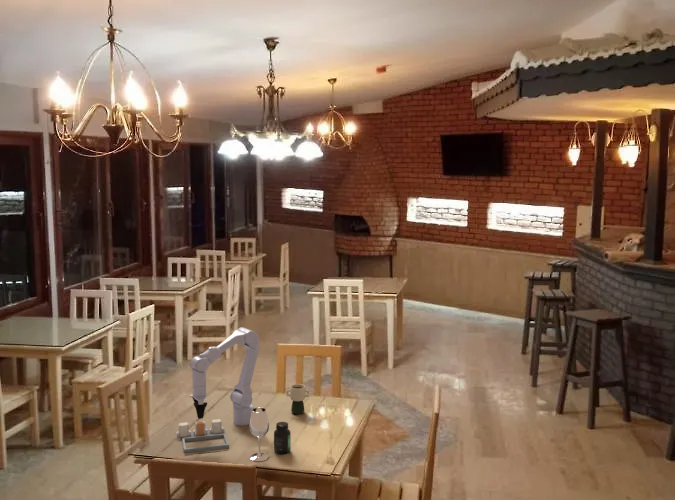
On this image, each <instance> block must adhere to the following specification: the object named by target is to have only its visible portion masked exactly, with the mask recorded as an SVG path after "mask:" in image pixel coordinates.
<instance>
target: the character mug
mask: <svg viewBox="0 0 675 500" xmlns="http://www.w3.org/2000/svg"><path fill="white" fill-rule="evenodd" d="M285 393H286V397H290V400H291V401H292V403H291V408H290V409H291V410H290V411H291V413H292V414H295V415H299V414H300V415H301V414H303V413H304V412H305V404H304V401H305V400H306V399H305V398H306V397H307V398H309V397H310V390H309V389H306V385H305V384H302V383H295V384H292V385H290V387H289V389H286V391H285Z"/></svg>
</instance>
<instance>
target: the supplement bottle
mask: <svg viewBox="0 0 675 500" xmlns="http://www.w3.org/2000/svg"><path fill="white" fill-rule="evenodd" d="M275 424H276V425H275V430H274V431H273V452H274V454H276V455H279V456H284V455H288V454H290V452H291V447H292V446H291V445H292V444H291V443H292V442H291V439H292V438H291V435H292V434H291V430H290V429H289V423H288V422H287V421H278V422H277V423H275Z"/></svg>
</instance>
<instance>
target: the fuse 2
mask: <svg viewBox="0 0 675 500" xmlns="http://www.w3.org/2000/svg"><path fill="white" fill-rule="evenodd" d="M222 424H223V423H222V419H221V418H218V419H211V430H212V434H215V433H222V427H223V426H222Z"/></svg>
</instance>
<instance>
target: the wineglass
mask: <svg viewBox="0 0 675 500" xmlns="http://www.w3.org/2000/svg"><path fill="white" fill-rule="evenodd" d="M248 425H249V427H248V428H249V432H250V434H251V435H252V436H253V437H254V438H257V441H258V442H257V443H258V452H257V453H252V454H251V455H250V456H249V459H250V460H251V461H252V462H264V461H267V460H269V458H270V456H269V454H267V453H264V452H261V439H262V438H263V437H264V436H266V435H267V434H268V432H269V430H270V423H269V417H268V412H267V408H264V407H260V406H259V407H254V409H252V413H251V418H250V424H248Z"/></svg>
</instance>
